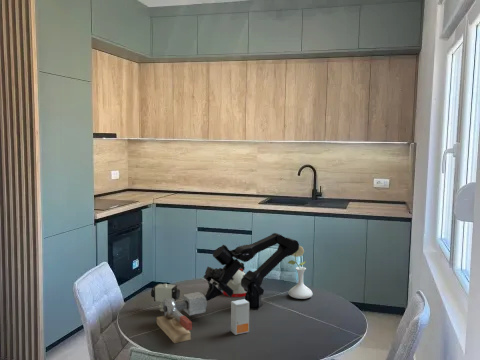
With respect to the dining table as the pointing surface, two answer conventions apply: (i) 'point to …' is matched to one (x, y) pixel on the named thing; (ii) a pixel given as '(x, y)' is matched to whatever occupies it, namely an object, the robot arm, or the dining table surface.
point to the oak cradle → (173, 329)
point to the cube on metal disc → (195, 303)
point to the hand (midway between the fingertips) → (205, 300)
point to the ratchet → (177, 312)
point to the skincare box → (239, 316)
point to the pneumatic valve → (164, 293)
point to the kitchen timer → (237, 285)
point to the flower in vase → (299, 279)
